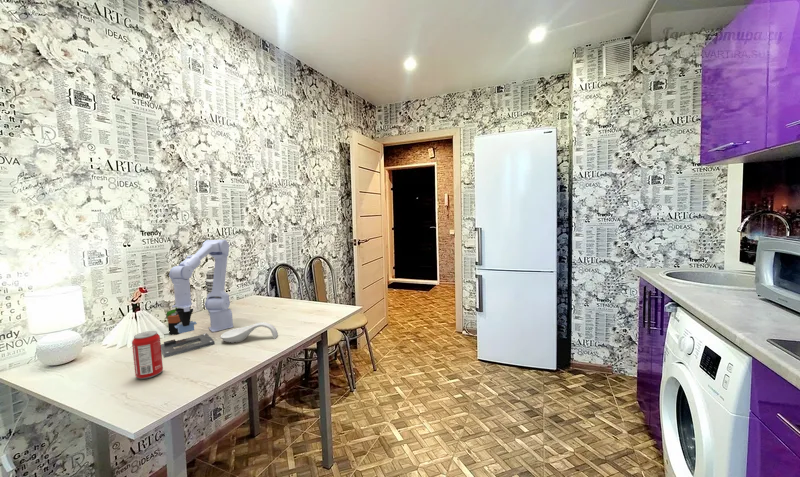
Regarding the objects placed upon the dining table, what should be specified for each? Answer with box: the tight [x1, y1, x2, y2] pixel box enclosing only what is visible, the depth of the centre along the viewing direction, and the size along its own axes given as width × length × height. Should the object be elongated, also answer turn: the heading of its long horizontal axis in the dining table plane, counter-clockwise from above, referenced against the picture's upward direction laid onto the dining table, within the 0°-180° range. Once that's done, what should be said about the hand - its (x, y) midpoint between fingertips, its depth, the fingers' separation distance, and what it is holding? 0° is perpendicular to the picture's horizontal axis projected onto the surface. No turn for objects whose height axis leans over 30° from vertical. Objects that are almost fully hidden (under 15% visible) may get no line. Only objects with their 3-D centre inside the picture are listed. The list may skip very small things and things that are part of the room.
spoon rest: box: [219, 321, 279, 344], centre depth 149 cm, size 24×12×7 cm, turn 97°
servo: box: [175, 320, 197, 335], centre depth 143 cm, size 8×3×4 cm, turn 132°
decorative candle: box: [204, 269, 222, 316], centre depth 190 cm, size 9×9×25 cm
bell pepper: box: [166, 307, 176, 320], centre depth 172 cm, size 8×8×10 cm
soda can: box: [131, 330, 164, 380], centre depth 117 cm, size 8×8×15 cm
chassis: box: [161, 333, 215, 358], centre depth 143 cm, size 18×14×2 cm
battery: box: [167, 311, 181, 336], centre depth 161 cm, size 4×7×10 cm, turn 5°
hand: (185, 324), depth 143 cm, fingers closed on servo, 3 cm apart
